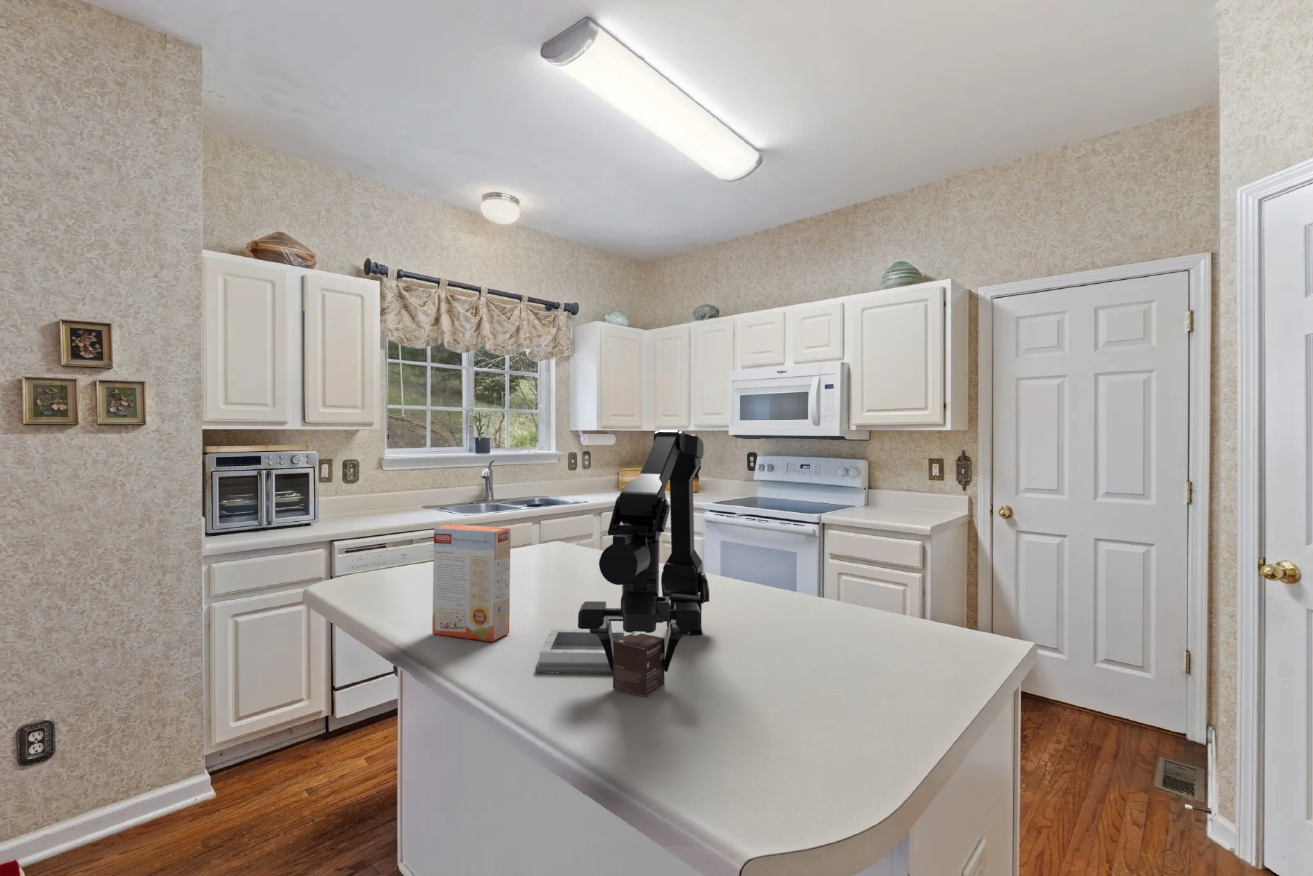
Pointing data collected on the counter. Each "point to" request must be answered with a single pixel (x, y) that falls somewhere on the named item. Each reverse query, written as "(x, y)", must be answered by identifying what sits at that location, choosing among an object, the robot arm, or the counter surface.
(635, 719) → the counter surface
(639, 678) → the box
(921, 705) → the counter surface
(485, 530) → the cracker box
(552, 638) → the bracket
